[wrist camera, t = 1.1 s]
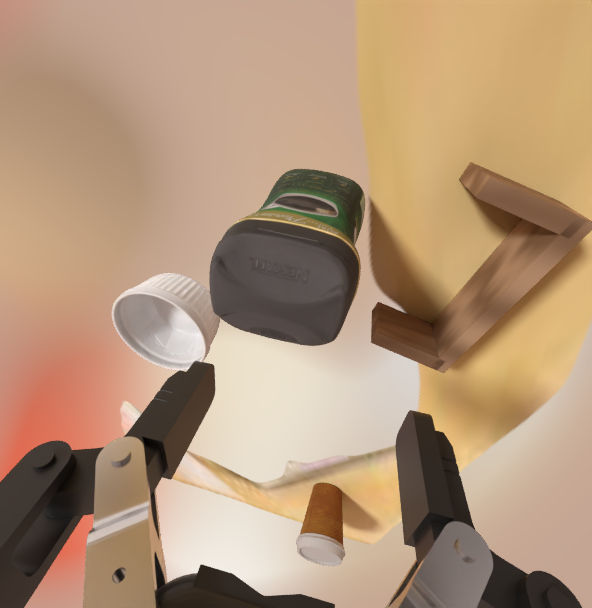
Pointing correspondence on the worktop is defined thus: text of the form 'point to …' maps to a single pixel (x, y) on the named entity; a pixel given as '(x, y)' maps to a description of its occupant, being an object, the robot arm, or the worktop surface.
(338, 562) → the disposable coffee cup
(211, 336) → the ramekin
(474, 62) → the worktop surface
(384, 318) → the bracket
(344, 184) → the coffee jar
